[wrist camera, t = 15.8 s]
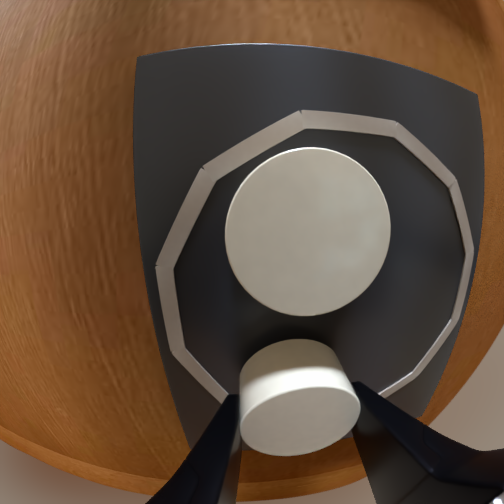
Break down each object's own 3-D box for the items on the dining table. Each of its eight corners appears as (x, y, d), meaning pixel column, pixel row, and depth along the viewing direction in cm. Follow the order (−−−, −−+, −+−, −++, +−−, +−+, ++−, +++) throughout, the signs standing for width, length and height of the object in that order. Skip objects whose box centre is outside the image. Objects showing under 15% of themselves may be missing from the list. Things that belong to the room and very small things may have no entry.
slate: (464, 97, 8) (479, 93, 7) (415, 406, 13) (422, 417, 12) (145, 66, 8) (135, 55, 6) (192, 436, 12) (190, 450, 11)
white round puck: (354, 158, 8) (393, 153, 5) (349, 276, 9) (381, 308, 7) (227, 156, 8) (220, 147, 5) (232, 282, 9) (230, 321, 6)
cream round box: (347, 332, 9) (373, 375, 7) (332, 405, 10) (347, 446, 8) (235, 341, 9) (234, 391, 7) (241, 413, 10) (242, 460, 8)
